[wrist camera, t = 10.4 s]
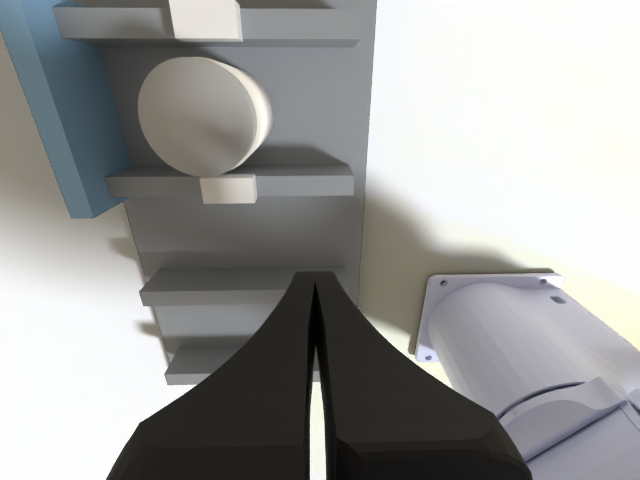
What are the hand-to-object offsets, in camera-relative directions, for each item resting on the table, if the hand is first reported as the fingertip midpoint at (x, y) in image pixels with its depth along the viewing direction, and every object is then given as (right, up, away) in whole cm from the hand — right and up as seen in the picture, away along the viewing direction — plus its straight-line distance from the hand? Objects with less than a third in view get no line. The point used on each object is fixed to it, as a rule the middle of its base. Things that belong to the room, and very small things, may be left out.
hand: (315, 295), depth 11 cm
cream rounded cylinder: (-4, +9, +5) cm, 11 cm away
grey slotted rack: (-4, +3, +9) cm, 10 cm away
